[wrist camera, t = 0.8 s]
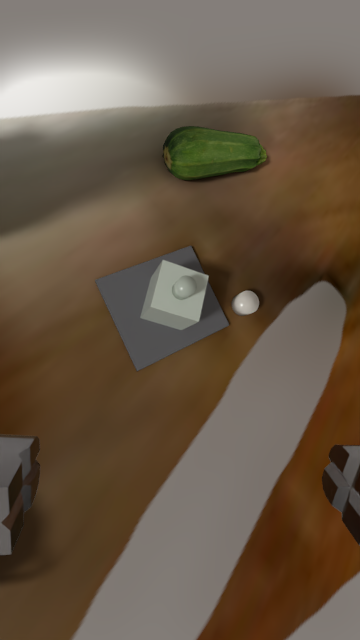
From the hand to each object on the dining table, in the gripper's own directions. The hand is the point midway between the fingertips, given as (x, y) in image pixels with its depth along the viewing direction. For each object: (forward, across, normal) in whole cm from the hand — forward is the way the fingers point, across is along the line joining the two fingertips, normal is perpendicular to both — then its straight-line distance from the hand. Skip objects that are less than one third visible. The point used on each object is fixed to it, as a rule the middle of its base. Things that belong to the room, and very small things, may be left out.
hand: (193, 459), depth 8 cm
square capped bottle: (+36, -2, +4) cm, 36 cm away
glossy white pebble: (+39, -15, +4) cm, 42 cm away
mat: (+36, -2, +4) cm, 37 cm away
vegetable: (+50, -9, -18) cm, 54 cm away
